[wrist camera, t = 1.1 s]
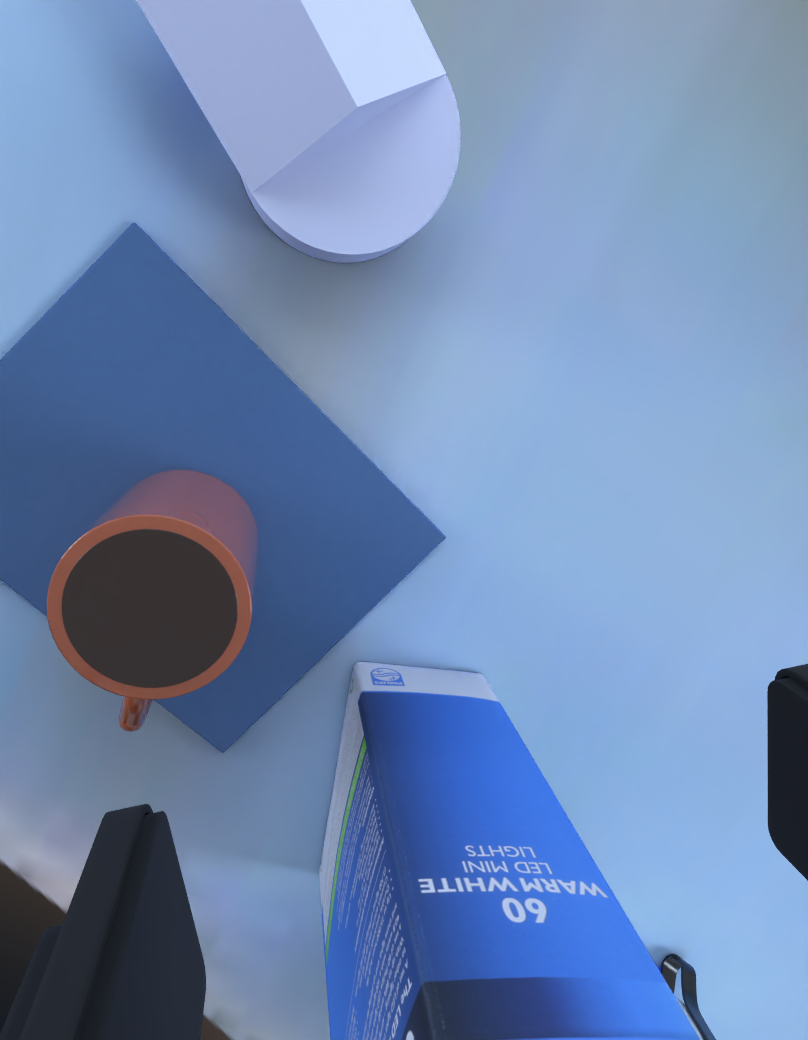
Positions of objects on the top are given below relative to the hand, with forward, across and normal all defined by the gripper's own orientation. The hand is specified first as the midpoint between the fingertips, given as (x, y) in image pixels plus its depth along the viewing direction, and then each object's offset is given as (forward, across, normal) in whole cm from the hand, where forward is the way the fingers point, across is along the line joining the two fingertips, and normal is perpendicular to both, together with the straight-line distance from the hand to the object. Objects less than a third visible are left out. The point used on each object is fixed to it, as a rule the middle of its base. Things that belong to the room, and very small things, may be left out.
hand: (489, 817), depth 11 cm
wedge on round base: (+26, -1, -16) cm, 31 cm away
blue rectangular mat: (+26, +8, 0) cm, 27 cm away
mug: (+25, +9, +3) cm, 27 cm away
